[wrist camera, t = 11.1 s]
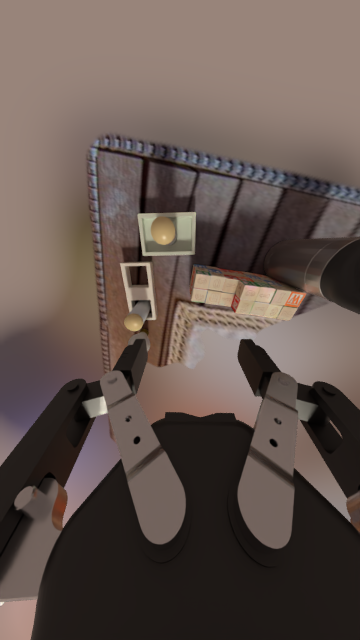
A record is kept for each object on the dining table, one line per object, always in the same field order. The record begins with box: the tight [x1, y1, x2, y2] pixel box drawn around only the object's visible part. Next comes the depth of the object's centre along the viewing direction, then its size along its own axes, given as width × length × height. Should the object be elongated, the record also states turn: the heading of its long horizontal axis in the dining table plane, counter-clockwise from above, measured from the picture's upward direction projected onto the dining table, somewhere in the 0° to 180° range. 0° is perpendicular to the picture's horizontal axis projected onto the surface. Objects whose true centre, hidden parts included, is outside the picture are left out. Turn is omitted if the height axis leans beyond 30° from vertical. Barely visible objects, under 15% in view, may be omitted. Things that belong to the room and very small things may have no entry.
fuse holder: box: [120, 261, 158, 320], centre depth 40 cm, size 7×15×3 cm, turn 1°
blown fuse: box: [151, 216, 178, 245], centre depth 29 cm, size 4×4×11 cm
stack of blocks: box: [190, 264, 306, 320], centre depth 34 cm, size 21×6×12 cm, turn 81°
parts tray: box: [138, 212, 196, 256], centre depth 34 cm, size 12×8×3 cm, turn 91°
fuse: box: [124, 300, 151, 331], centre depth 38 cm, size 4×4×11 cm
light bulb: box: [128, 329, 150, 352], centre depth 42 cm, size 6×6×10 cm
